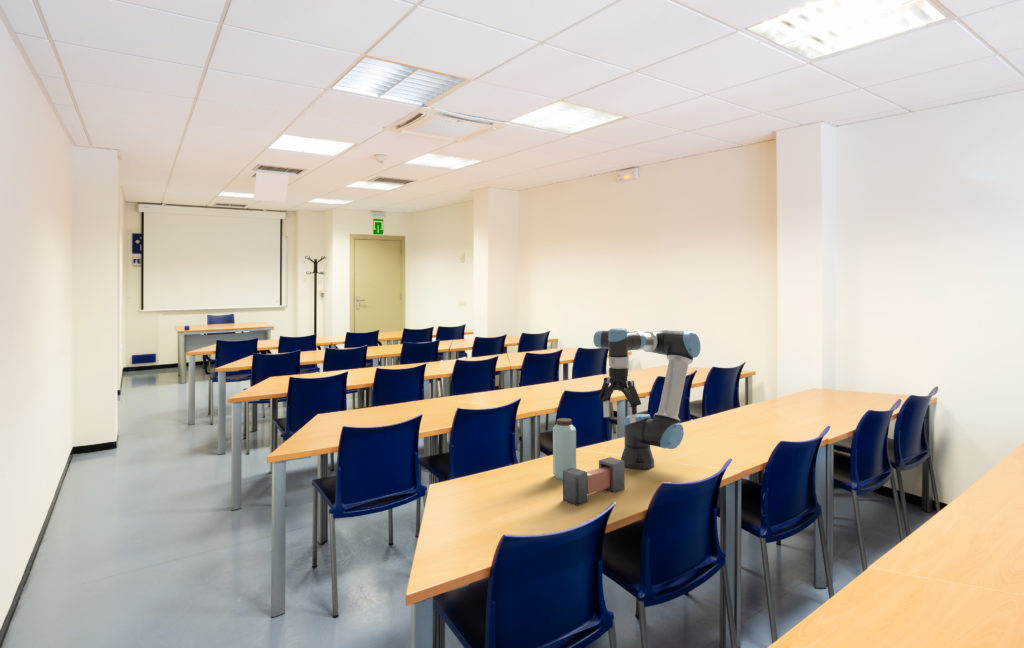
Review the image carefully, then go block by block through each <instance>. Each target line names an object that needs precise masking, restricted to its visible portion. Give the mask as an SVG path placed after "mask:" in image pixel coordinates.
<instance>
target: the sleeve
mask: <svg viewBox="0 0 1024 648" xmlns="http://www.w3.org/2000/svg"><path fill="white" fill-rule="evenodd" d="M605 466H611V487H609V488H606V489H603V490H602V491H605V492H608V493H611V494H615V493H618V492H621V491H624V490H625V488H626V487H625V485H626V484H625V480H626V479H625V473H626V472H625V471H626V470H625V468H626V467H625V466H624V461H622V460H621V459H618V458H614V457H611V456H610V457H607V458H603V459H599V460H598V469H599V468H602V467H605Z"/></svg>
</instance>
